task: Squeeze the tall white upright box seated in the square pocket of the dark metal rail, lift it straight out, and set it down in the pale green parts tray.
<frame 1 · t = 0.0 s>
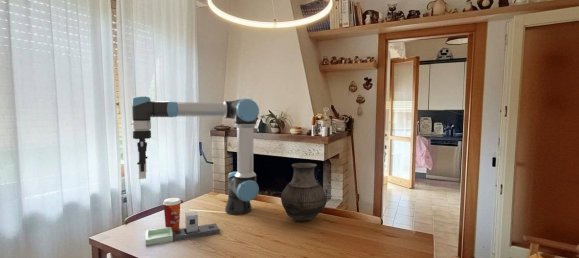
hand: (143, 175, 135), 28 cm above the table, fingers open, 13 cm apart
coffee cup: (172, 230, 143), on the table, touching tray
vase: (303, 219, 157), on the table
tray: (159, 238, 133), on the table
white upright box: (191, 234, 137), resting in rail
rail: (196, 233, 138), on the table
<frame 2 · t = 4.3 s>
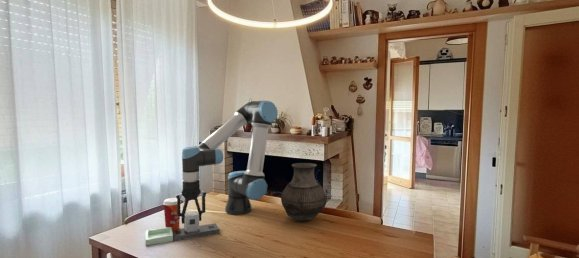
hand: (191, 228, 137), 3 cm above the table, fingers closed on white upright box, 5 cm apart
white upright box: (191, 234, 137), resting in rail, touching gripper
everything else where it was.
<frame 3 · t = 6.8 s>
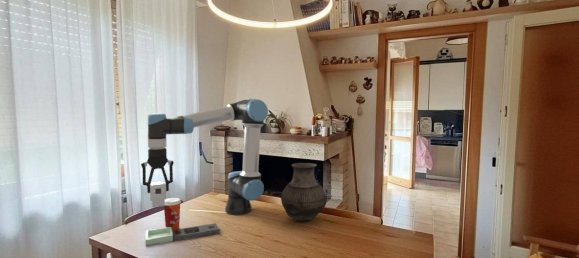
hand: (158, 198, 131), 18 cm above the table, fingers closed on white upright box, 5 cm apart
white upright box: (158, 204, 132), point 15 cm above the table, touching gripper
everything else where it was.
when the fingers open (5 cm above the table, at t = 9.3 s): white upright box drops 2 cm, resting on tray.
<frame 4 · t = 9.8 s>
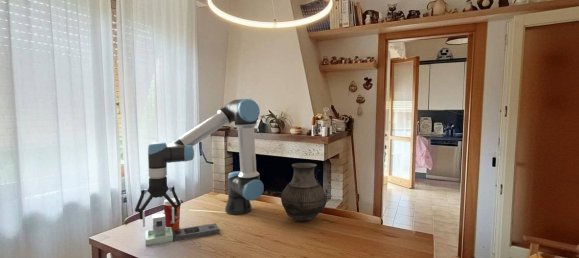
hand: (158, 223, 132), 7 cm above the table, fingers open, 11 cm apart
white upright box: (159, 236, 133), point 1 cm above the table, touching tray
everything else where it was.
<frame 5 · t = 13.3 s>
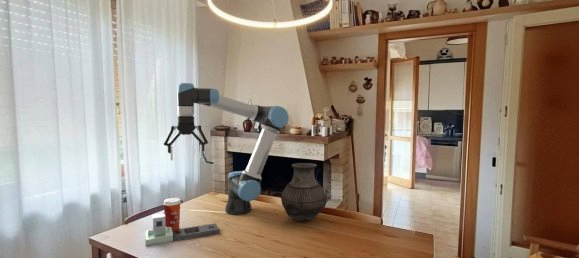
hand: (186, 159, 141), 35 cm above the table, fingers open, 13 cm apart
nothing on the table moved.
at the end: white upright box inside the target area on the tray (0.1 cm from its centre), point 0.6 cm above the tray's base; white upright box tilted 0°; the gripper is holding nothing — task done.
